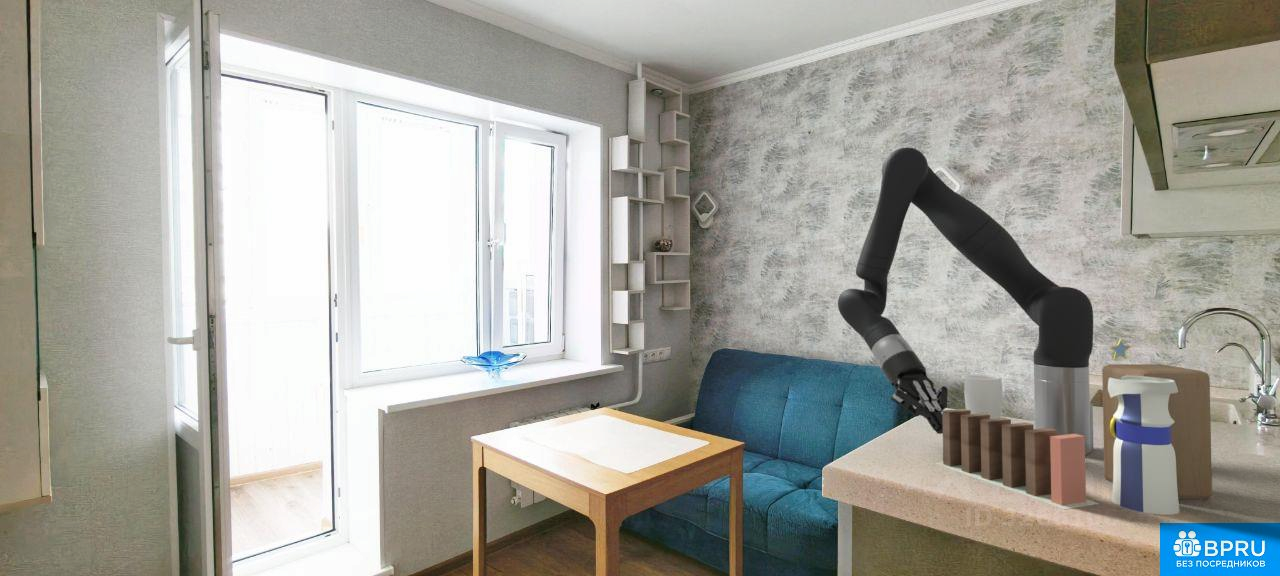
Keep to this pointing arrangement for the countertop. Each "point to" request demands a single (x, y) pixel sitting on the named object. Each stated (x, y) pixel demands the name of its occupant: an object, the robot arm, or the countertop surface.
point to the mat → (1019, 489)
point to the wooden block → (1185, 432)
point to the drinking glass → (983, 394)
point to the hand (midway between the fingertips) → (944, 431)
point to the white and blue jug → (1143, 443)
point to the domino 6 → (1068, 469)
